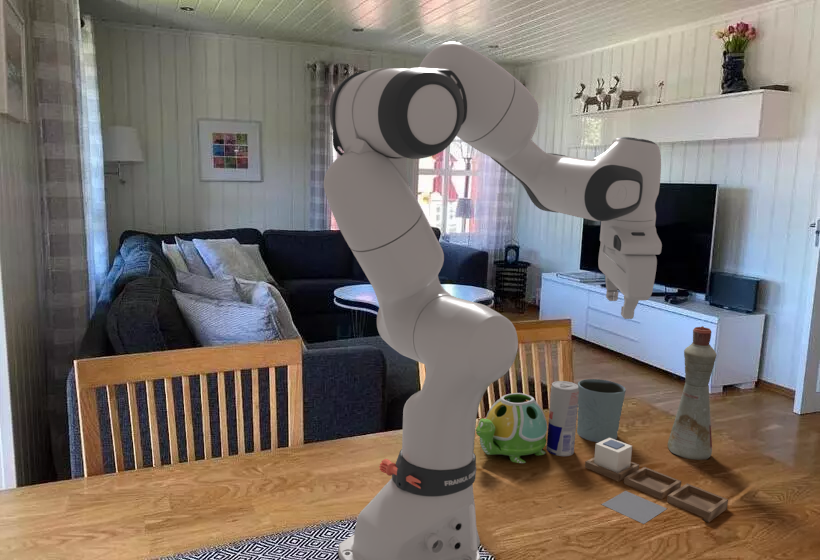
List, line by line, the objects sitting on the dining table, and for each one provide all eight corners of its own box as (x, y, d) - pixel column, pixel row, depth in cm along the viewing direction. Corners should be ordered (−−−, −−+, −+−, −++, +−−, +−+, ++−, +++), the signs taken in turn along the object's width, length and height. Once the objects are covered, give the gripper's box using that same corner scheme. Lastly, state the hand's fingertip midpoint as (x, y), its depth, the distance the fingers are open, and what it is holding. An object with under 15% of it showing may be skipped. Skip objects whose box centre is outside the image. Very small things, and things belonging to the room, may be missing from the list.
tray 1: (618, 484, 120) (619, 475, 120) (584, 469, 126) (585, 461, 125) (638, 473, 125) (639, 464, 125) (605, 459, 130) (605, 451, 130)
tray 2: (660, 502, 114) (661, 493, 114) (623, 486, 119) (624, 477, 119) (680, 490, 119) (681, 481, 118) (643, 475, 124) (644, 466, 124)
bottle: (657, 450, 136) (670, 323, 132) (682, 442, 141) (696, 319, 136) (694, 466, 129) (709, 332, 124) (719, 457, 134) (735, 328, 129)
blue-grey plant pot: (566, 437, 141) (570, 385, 139) (584, 424, 149) (588, 375, 147) (611, 450, 135) (616, 396, 133) (627, 436, 143) (632, 385, 141)
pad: (643, 527, 105) (643, 523, 105) (601, 507, 111) (601, 504, 111) (666, 511, 111) (667, 508, 111) (625, 493, 117) (625, 490, 116)
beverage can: (571, 448, 136) (576, 381, 133) (575, 459, 130) (581, 389, 128) (544, 446, 136) (549, 379, 134) (547, 457, 131) (553, 387, 128)
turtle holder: (454, 455, 130) (457, 399, 128) (513, 435, 142) (517, 383, 140) (498, 478, 121) (502, 419, 119) (558, 455, 132) (562, 400, 130)
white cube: (616, 477, 122) (618, 451, 121) (593, 467, 125) (595, 442, 125) (629, 469, 125) (632, 445, 124) (607, 460, 129) (609, 436, 128)
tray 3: (708, 522, 108) (709, 512, 107) (666, 504, 113) (667, 495, 113) (726, 508, 112) (728, 499, 112) (686, 492, 118) (687, 483, 118)
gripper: (593, 220, 120) (587, 290, 124) (625, 246, 100) (617, 328, 104) (627, 220, 120) (619, 290, 124) (666, 247, 100) (656, 329, 104)
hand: (619, 308), depth 114 cm, fingers open, 8 cm apart
